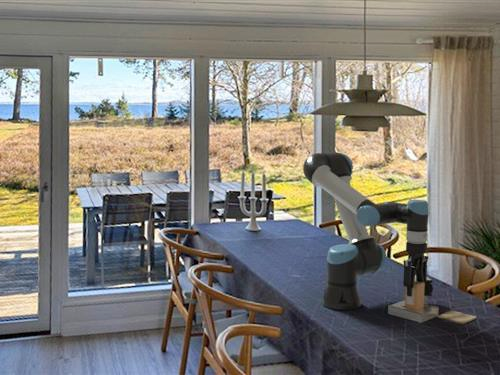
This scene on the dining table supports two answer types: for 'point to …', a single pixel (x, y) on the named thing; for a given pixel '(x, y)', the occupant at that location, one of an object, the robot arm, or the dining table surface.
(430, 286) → the pneumatic valve
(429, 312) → the grey flat block
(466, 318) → the pad
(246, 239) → the dining table surface
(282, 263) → the dining table surface
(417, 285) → the light wood tall block
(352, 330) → the dining table surface
